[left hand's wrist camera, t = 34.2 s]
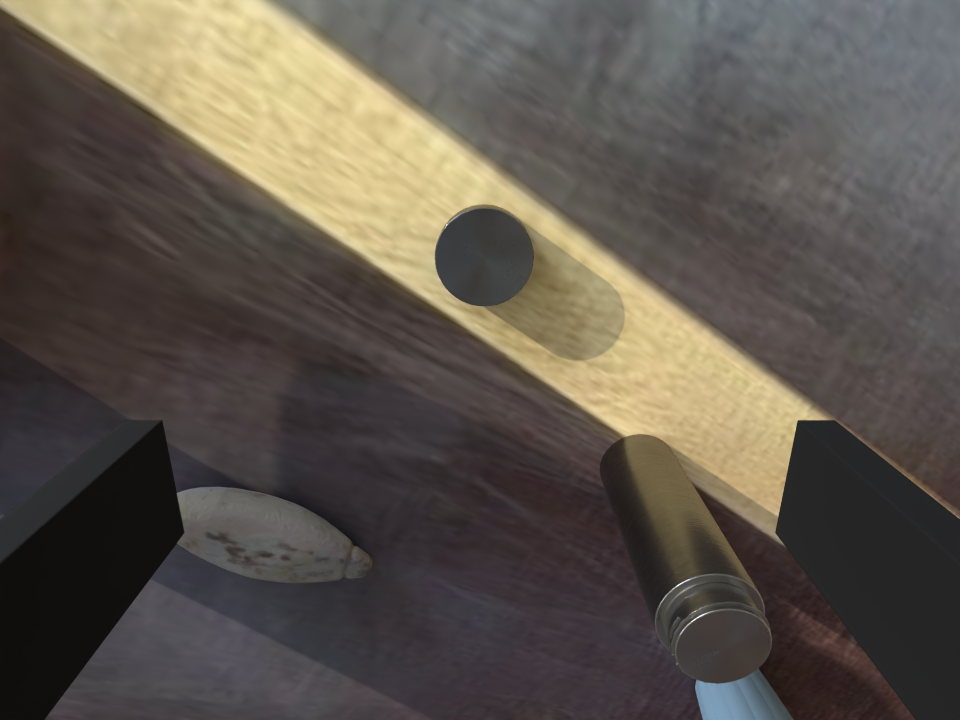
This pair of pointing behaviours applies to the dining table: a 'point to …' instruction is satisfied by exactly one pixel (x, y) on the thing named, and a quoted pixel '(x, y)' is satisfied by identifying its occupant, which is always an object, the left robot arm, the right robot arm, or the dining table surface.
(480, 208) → the lid
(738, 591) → the bottle
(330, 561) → the decorative stone
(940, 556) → the left robot arm
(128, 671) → the dining table surface
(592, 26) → the dining table surface
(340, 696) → the dining table surface
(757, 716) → the cup
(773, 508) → the dining table surface
